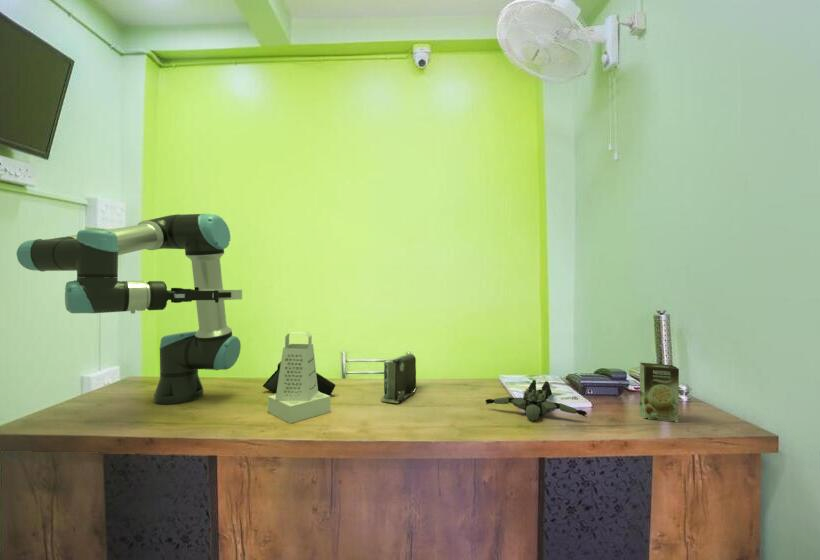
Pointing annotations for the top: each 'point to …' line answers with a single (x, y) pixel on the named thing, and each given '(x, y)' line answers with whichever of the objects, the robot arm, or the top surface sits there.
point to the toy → (536, 402)
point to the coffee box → (659, 391)
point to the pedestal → (299, 407)
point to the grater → (297, 370)
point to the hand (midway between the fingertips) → (232, 293)
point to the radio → (399, 378)
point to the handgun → (322, 383)
